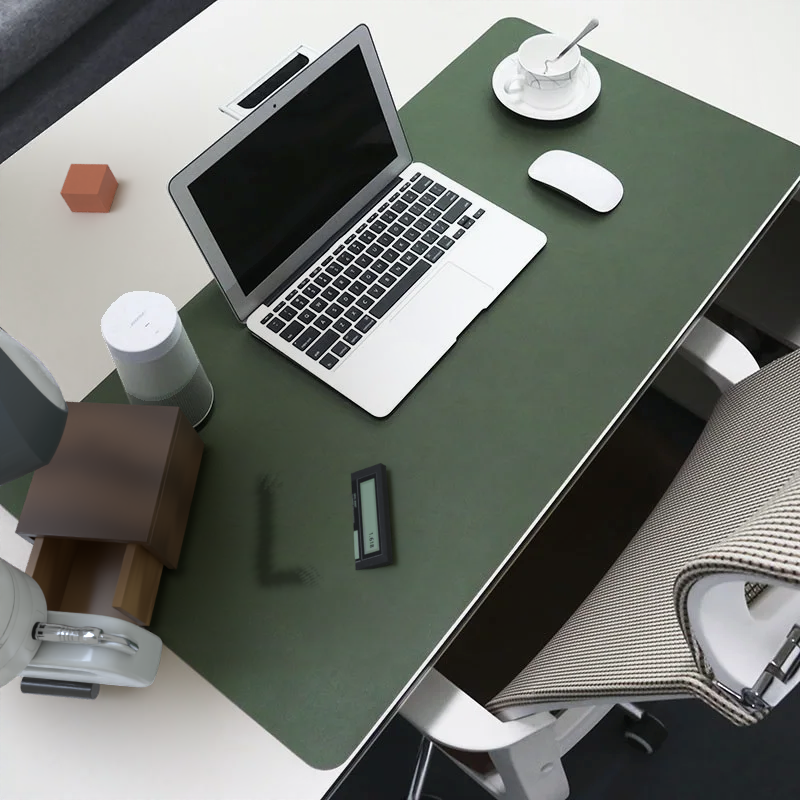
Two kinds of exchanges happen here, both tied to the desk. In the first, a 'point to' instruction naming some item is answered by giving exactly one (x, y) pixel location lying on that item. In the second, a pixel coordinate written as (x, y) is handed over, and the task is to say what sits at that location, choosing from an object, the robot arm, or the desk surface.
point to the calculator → (371, 518)
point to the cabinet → (117, 479)
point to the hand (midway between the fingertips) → (64, 666)
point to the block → (89, 188)
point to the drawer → (92, 591)
